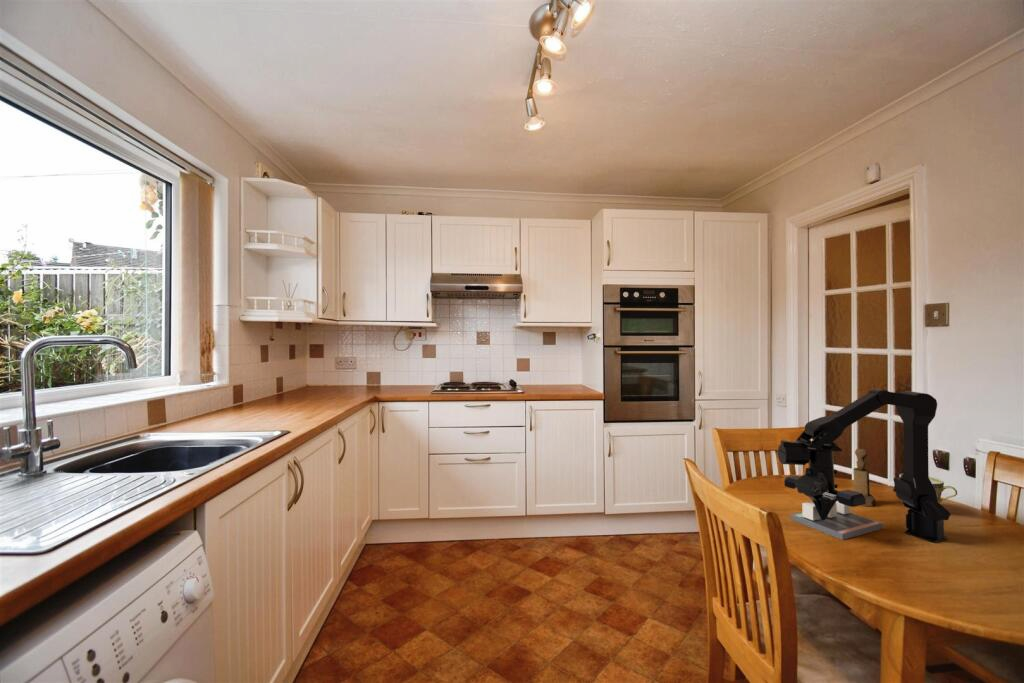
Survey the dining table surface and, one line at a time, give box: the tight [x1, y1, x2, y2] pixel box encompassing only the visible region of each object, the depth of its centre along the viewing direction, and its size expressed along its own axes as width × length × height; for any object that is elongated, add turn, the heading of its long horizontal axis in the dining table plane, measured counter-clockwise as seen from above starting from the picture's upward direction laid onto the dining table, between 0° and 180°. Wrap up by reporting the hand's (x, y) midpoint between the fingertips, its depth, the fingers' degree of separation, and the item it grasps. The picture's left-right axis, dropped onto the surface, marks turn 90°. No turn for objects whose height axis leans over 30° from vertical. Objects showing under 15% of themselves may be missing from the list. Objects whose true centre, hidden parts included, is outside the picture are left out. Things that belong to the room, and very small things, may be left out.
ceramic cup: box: [898, 473, 958, 504], centre depth 126 cm, size 13×10×10 cm
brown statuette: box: [853, 448, 876, 507], centre depth 134 cm, size 7×6×18 cm
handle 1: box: [801, 501, 820, 521], centre depth 119 cm, size 3×3×4 cm
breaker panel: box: [790, 511, 884, 541], centre depth 118 cm, size 14×18×2 cm
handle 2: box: [827, 503, 837, 518], centre depth 120 cm, size 3×3×4 cm
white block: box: [836, 501, 852, 514], centre depth 123 cm, size 3×3×4 cm
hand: (823, 519), depth 115 cm, fingers closed
